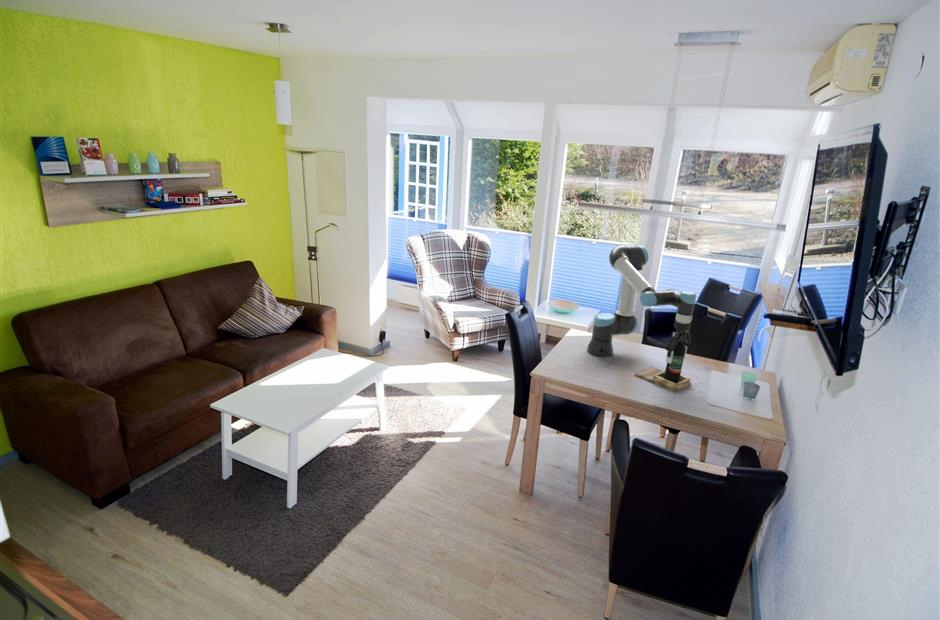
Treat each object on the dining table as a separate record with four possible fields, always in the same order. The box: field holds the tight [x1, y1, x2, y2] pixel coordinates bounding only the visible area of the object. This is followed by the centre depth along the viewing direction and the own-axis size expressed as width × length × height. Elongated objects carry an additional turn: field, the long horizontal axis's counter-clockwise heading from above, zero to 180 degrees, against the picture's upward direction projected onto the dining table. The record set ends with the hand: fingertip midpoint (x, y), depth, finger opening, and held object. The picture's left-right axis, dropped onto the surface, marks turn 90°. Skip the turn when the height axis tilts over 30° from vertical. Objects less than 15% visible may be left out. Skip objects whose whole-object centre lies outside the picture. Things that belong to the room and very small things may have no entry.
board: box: [634, 366, 692, 393], centre depth 272 cm, size 24×16×4 cm, turn 39°
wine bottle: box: [664, 338, 687, 383], centre depth 264 cm, size 8×8×30 cm
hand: (675, 359), depth 264 cm, fingers open, 13 cm apart
